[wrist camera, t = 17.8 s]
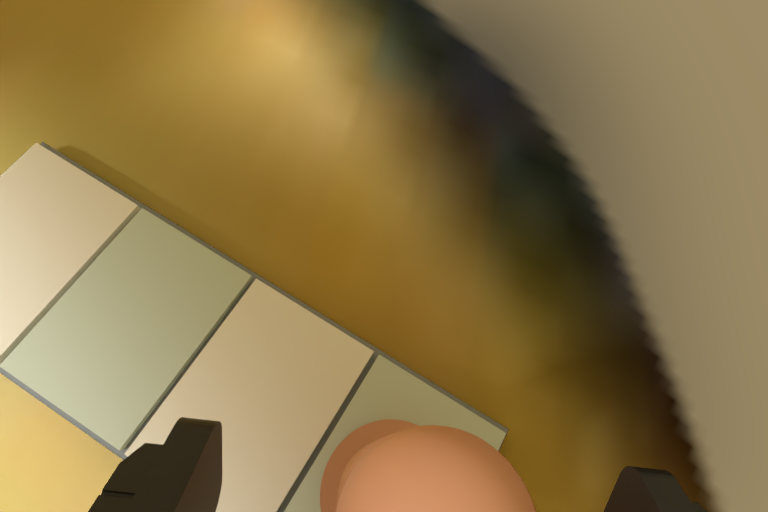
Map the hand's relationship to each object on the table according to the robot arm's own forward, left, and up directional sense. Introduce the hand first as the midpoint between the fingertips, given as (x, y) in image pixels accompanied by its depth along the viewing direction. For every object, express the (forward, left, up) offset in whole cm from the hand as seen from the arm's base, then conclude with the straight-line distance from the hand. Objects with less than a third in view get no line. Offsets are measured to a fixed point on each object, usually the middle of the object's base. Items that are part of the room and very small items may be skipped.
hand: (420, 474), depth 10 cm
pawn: (0, -1, -6) cm, 6 cm away
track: (-7, -1, -7) cm, 10 cm away
